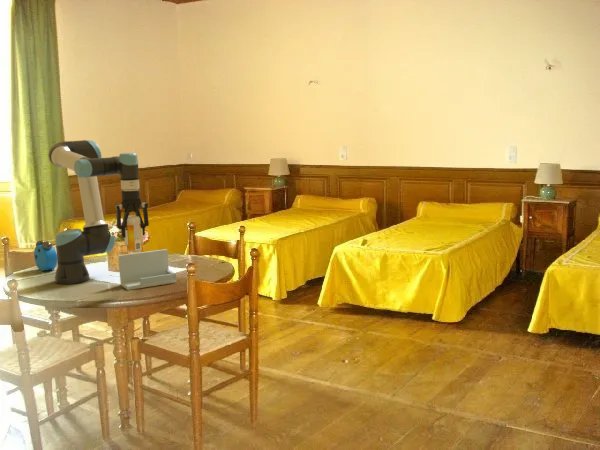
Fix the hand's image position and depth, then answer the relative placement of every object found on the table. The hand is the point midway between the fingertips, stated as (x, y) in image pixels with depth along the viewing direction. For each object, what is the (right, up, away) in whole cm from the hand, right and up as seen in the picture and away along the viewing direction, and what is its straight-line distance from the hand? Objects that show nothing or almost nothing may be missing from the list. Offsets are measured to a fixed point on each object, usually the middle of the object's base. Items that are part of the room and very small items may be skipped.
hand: (134, 243), depth 283 cm
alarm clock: (-56, -15, +49) cm, 76 cm away
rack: (+3, -18, +13) cm, 23 cm away
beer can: (0, -3, +1) cm, 3 cm away
